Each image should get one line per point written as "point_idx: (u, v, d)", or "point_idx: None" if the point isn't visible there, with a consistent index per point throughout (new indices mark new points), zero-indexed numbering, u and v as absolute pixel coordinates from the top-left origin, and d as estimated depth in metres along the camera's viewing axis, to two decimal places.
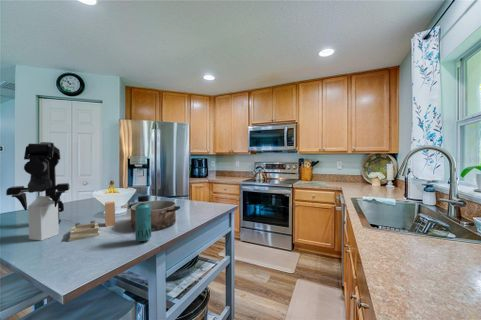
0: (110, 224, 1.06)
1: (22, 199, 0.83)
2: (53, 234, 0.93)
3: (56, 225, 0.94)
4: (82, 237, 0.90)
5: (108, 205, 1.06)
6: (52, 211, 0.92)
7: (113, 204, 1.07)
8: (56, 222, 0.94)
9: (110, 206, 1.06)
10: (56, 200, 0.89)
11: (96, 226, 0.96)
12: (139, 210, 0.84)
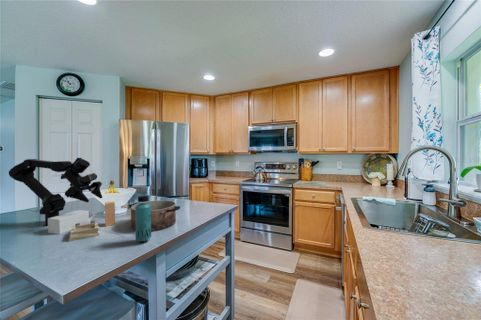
0: (110, 224, 1.06)
1: (82, 193, 1.03)
2: (61, 228, 0.96)
3: (69, 229, 1.00)
4: (82, 237, 0.90)
5: (108, 205, 1.06)
6: (83, 221, 1.07)
7: (113, 204, 1.07)
8: None
9: (110, 206, 1.06)
10: (100, 192, 1.13)
11: (96, 226, 0.96)
12: (139, 210, 0.84)
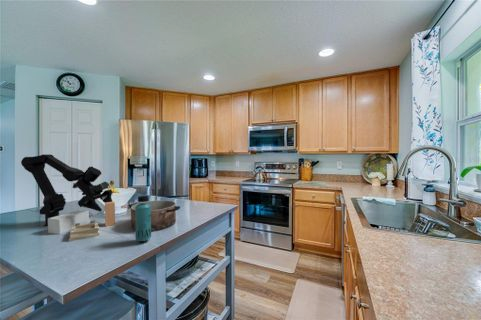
0: (110, 224, 1.06)
1: (95, 202, 1.03)
2: (61, 228, 0.96)
3: (69, 229, 1.00)
4: (82, 237, 0.90)
5: (108, 205, 1.06)
6: (83, 221, 1.07)
7: (113, 204, 1.07)
8: None
9: (110, 206, 1.06)
10: (111, 200, 1.13)
11: (96, 226, 0.96)
12: (139, 210, 0.84)
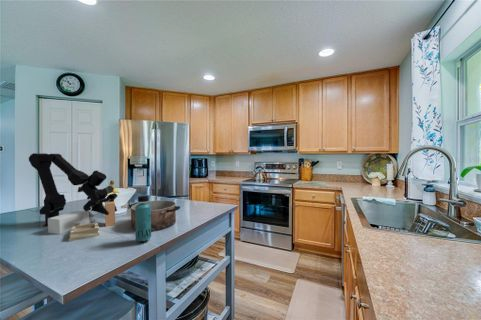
0: (110, 224, 1.06)
1: (102, 206, 1.04)
2: (61, 228, 0.96)
3: (69, 229, 1.00)
4: (82, 237, 0.90)
5: (108, 205, 1.06)
6: (83, 221, 1.07)
7: (113, 204, 1.07)
8: None
9: (110, 206, 1.06)
10: None
11: (96, 226, 0.96)
12: (139, 210, 0.84)
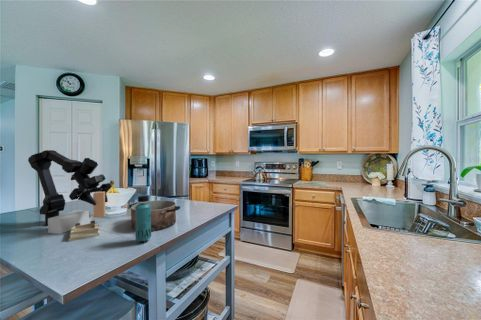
0: (98, 215, 0.99)
1: (90, 195, 0.98)
2: (61, 228, 0.96)
3: (69, 229, 1.00)
4: (82, 237, 0.90)
5: (96, 195, 0.99)
6: (83, 221, 1.07)
7: (102, 194, 1.00)
8: None
9: (99, 196, 0.99)
10: (105, 195, 1.05)
11: (96, 226, 0.96)
12: (139, 210, 0.84)
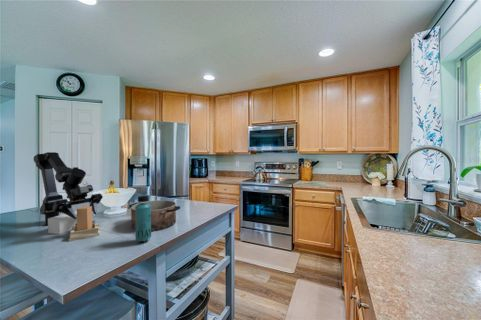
0: None
1: (71, 208, 0.91)
2: (61, 228, 0.96)
3: (69, 229, 1.00)
4: (82, 237, 0.90)
5: (80, 210, 0.92)
6: None
7: (85, 210, 0.93)
8: None
9: (82, 211, 0.93)
10: (95, 207, 0.99)
11: (96, 226, 0.96)
12: (139, 210, 0.84)
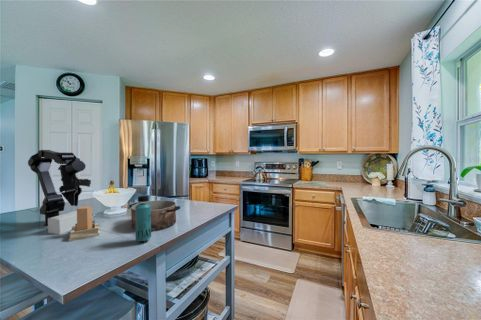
0: None
1: (74, 194, 0.98)
2: (61, 228, 0.96)
3: (69, 229, 1.00)
4: (82, 237, 0.90)
5: (80, 210, 0.92)
6: None
7: (85, 210, 0.93)
8: None
9: (82, 211, 0.93)
10: None
11: (96, 226, 0.96)
12: (139, 210, 0.84)
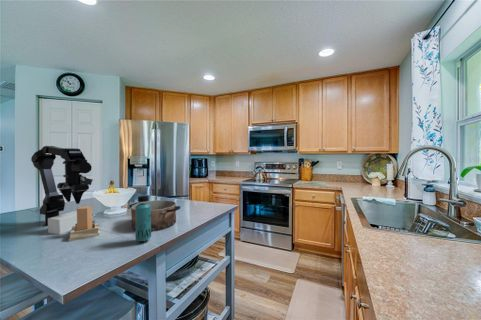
0: None
1: None
2: (61, 228, 0.96)
3: (69, 229, 1.00)
4: (82, 237, 0.90)
5: (80, 210, 0.92)
6: None
7: (85, 210, 0.93)
8: None
9: (82, 211, 0.93)
10: None
11: (96, 226, 0.96)
12: (139, 210, 0.84)
